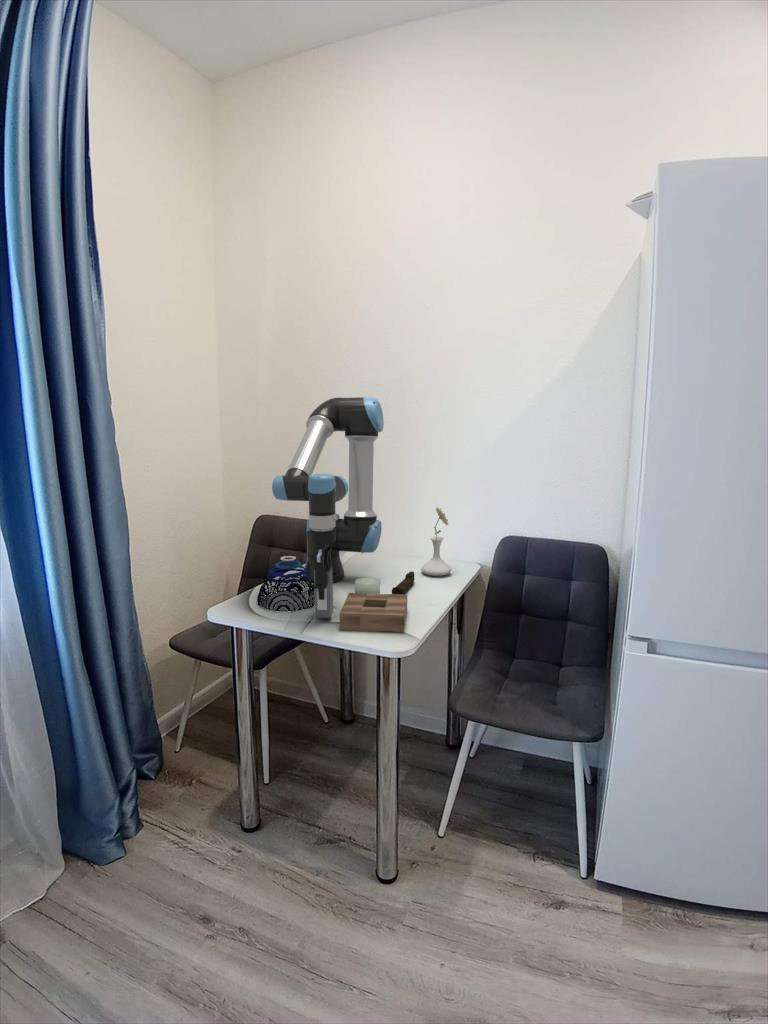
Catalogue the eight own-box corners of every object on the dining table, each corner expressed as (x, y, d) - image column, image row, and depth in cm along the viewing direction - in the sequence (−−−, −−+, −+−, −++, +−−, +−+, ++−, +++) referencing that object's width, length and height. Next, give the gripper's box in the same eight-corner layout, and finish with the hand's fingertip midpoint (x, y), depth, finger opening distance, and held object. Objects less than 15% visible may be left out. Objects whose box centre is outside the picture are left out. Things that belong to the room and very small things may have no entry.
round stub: (356, 597, 187) (356, 577, 186) (381, 598, 186) (381, 578, 185) (353, 606, 179) (353, 584, 178) (378, 607, 178) (378, 585, 177)
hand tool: (402, 599, 186) (403, 585, 185) (391, 598, 187) (391, 584, 187) (420, 583, 203) (421, 571, 203) (410, 582, 205) (410, 569, 204)
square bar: (318, 611, 170) (317, 566, 168) (333, 612, 170) (332, 567, 167) (315, 617, 166) (314, 571, 163) (330, 617, 166) (329, 571, 163)
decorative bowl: (324, 591, 193) (324, 550, 191) (316, 612, 174) (315, 566, 171) (265, 591, 194) (264, 549, 191) (251, 611, 174) (249, 566, 172)
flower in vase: (450, 579, 208) (452, 511, 203) (419, 577, 210) (420, 510, 205) (452, 569, 220) (454, 505, 216) (422, 567, 222) (423, 504, 218)
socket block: (349, 608, 177) (349, 592, 176) (407, 610, 176) (407, 594, 175) (339, 630, 159) (339, 613, 159) (404, 632, 158) (404, 615, 157)
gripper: (330, 535, 154) (331, 617, 159) (340, 522, 171) (341, 596, 176) (302, 535, 155) (304, 616, 159) (315, 521, 172) (317, 595, 176)
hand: (324, 605), depth 167 cm, fingers closed on square bar, 4 cm apart
